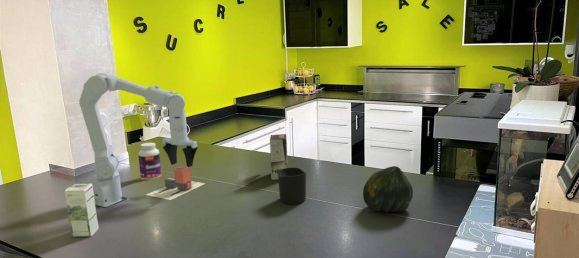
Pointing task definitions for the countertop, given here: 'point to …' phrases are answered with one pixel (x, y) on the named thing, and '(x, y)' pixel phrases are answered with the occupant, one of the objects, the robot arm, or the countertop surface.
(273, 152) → the coffee box
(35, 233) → the countertop surface
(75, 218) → the syrup box
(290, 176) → the pen holder
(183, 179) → the cap
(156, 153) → the pill bottle
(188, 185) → the breaker
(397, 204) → the squash
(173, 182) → the block
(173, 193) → the board
